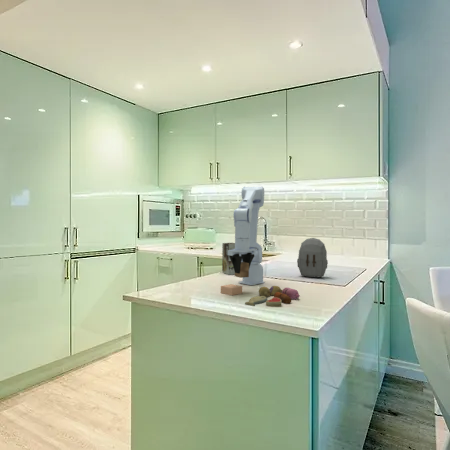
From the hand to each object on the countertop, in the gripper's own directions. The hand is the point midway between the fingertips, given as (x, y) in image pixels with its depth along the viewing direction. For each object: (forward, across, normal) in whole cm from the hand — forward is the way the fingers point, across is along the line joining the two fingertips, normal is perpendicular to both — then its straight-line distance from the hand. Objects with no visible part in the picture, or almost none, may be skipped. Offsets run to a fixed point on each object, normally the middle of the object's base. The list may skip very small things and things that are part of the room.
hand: (241, 272), depth 140 cm
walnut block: (+2, 0, 0) cm, 2 cm away
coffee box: (+8, -31, -36) cm, 48 cm away
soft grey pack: (+8, -53, 0) cm, 54 cm away
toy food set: (+9, -1, +16) cm, 19 cm away
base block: (+8, +4, -2) cm, 9 cm away
